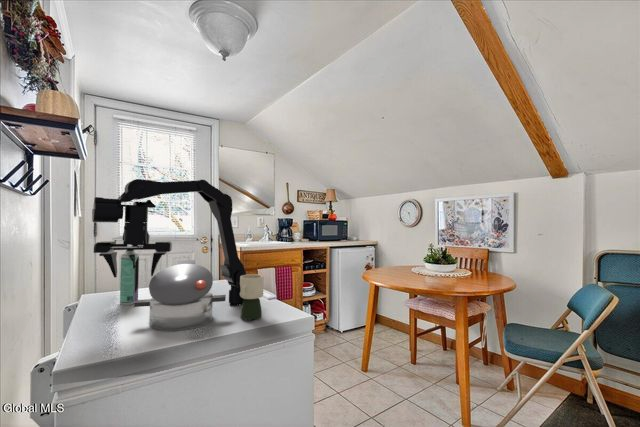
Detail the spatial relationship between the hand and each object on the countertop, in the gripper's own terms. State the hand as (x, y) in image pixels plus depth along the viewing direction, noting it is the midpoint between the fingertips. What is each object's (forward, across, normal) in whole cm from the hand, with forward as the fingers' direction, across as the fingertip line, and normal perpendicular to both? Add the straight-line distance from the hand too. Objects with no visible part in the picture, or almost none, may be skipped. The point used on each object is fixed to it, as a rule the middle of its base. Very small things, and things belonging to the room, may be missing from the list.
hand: (134, 276), depth 87 cm
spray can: (+14, +6, -25) cm, 29 cm away
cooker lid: (+2, -13, +2) cm, 13 cm away
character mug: (+13, -33, +6) cm, 36 cm away
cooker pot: (+13, -13, +2) cm, 19 cm away
